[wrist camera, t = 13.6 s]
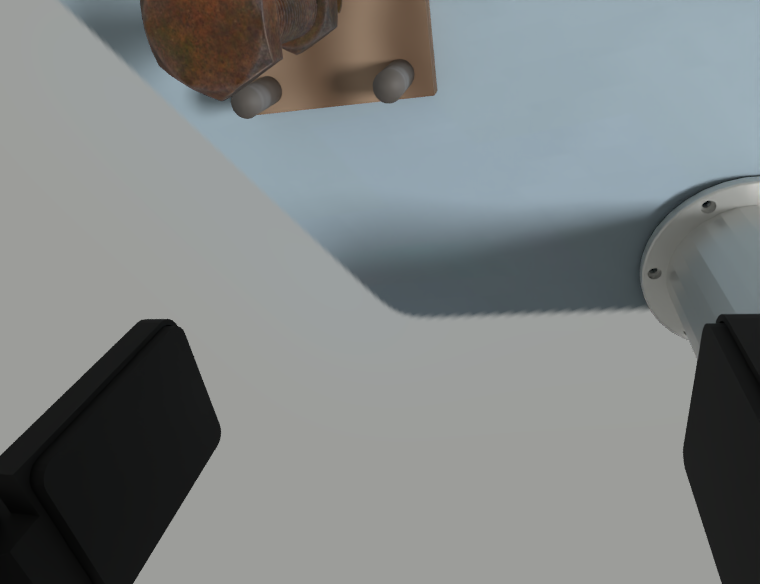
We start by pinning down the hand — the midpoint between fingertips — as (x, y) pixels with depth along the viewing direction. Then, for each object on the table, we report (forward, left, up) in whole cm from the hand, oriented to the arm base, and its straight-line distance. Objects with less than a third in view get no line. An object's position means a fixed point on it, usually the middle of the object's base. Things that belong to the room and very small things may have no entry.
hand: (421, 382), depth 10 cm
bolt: (+10, -6, -29) cm, 31 cm away
